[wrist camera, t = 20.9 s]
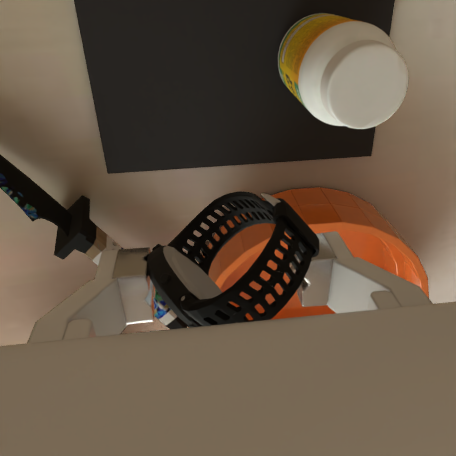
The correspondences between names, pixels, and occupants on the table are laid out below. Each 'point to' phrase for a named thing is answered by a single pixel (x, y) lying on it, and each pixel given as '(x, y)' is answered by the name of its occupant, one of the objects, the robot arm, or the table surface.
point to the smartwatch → (220, 301)
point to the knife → (69, 227)
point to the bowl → (319, 223)
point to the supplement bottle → (343, 70)
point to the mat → (207, 82)
